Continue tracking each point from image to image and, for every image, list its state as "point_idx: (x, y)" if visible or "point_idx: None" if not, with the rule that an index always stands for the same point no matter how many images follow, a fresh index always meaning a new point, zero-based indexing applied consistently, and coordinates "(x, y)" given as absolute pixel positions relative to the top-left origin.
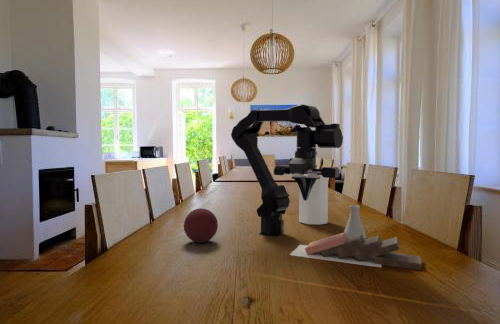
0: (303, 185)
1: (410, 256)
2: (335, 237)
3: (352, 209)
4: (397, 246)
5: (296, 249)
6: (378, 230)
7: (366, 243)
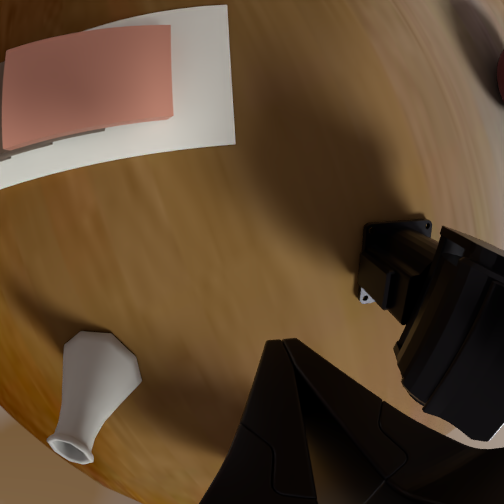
0: (355, 471)
1: None
2: (34, 81)
3: (70, 432)
4: None
5: (225, 72)
6: (96, 439)
7: None
